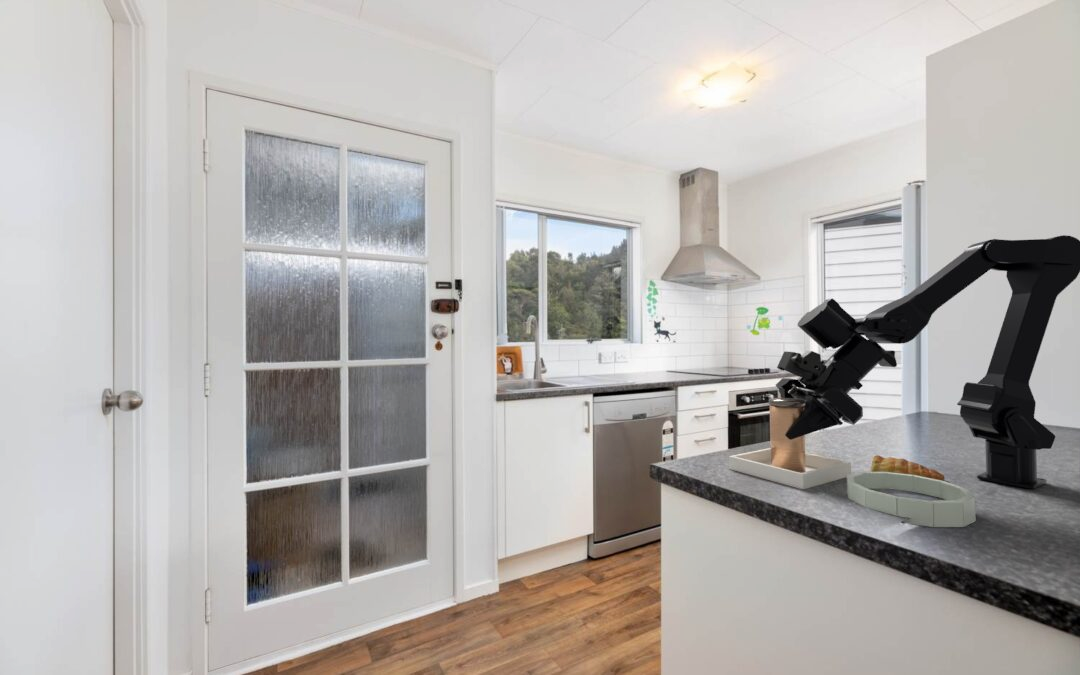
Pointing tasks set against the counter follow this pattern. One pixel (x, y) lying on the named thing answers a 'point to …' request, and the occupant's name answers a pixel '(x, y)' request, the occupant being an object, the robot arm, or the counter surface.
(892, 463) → the pastry
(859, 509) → the counter surface
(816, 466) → the tray
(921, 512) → the bowl
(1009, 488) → the counter surface
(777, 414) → the canister
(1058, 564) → the counter surface
